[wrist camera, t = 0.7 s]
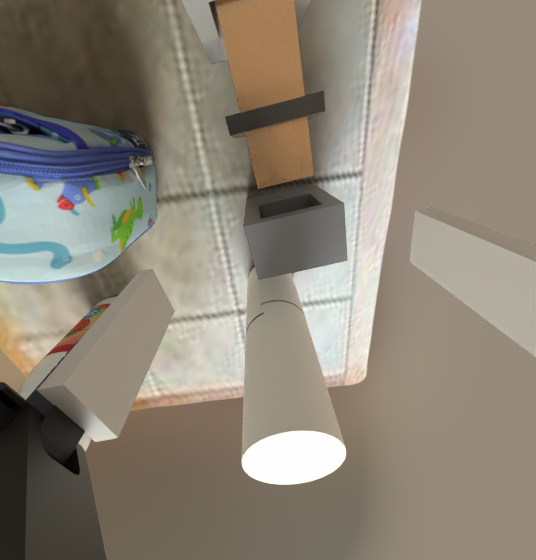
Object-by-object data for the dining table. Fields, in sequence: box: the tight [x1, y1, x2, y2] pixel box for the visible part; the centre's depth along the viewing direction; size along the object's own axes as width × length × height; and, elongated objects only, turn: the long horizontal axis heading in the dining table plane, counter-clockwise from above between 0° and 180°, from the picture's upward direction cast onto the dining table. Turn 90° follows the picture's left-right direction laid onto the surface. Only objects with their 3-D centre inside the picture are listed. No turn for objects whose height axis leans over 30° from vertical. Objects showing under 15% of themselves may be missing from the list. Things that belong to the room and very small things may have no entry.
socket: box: [244, 183, 347, 280], centre depth 27 cm, size 6×9×13 cm, turn 102°
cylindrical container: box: [242, 267, 346, 484], centre depth 27 cm, size 7×7×25 cm
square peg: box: [214, 0, 325, 189], centre depth 18 cm, size 21×7×7 cm, turn 12°
